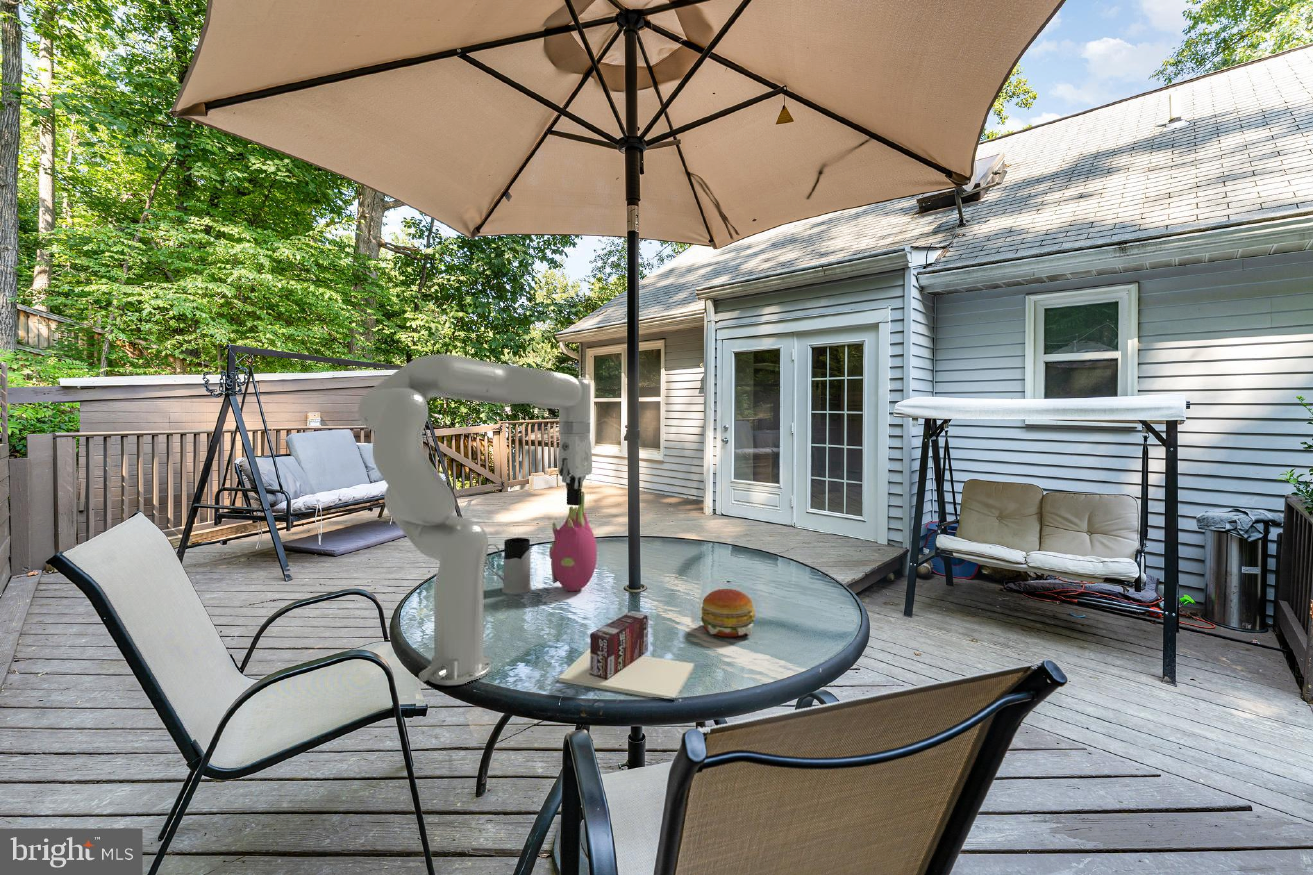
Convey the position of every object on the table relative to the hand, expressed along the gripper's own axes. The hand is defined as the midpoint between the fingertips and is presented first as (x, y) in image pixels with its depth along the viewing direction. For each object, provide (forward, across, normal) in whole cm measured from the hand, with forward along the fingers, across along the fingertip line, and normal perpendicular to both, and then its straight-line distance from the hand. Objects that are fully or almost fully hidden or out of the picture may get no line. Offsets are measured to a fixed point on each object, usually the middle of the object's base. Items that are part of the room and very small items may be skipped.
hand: (574, 504), depth 137 cm
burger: (+31, +13, -36) cm, 50 cm away
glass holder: (+31, +23, +33) cm, 51 cm away
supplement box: (+26, -7, -20) cm, 33 cm away
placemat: (+31, -18, -21) cm, 41 cm away
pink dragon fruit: (+31, +29, +14) cm, 45 cm away
